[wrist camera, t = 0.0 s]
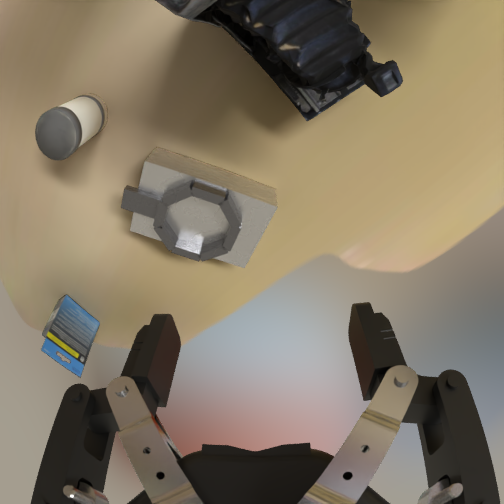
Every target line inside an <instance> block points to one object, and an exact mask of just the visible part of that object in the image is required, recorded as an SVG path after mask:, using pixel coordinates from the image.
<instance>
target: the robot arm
mask: <svg viewBox="0 0 504 504" xmlns="http://www.w3.org/2000/svg"><path fill="white" fill-rule="evenodd" d="M348 333H349V342H350V346H351V349H352V353H353V357H354V362H355V366H356V370H357V373H358V378H359V382H360V387H361V391H362V396H363V400H364V401H367V400H371V402H370V404H369V406H368V407H367V409H366V411H365V412H363V414H362V415H361V417H360V418H359V420H358V422H357V423H356V425H355V426H354V428H353V430H352V431H351V433H350V434H349V436H348V437H347V439H346V440H345V442H344V443H343V445H342V447H341V448H340V450H339V451H338V453H337V454H336V455H335V457H334V456H332V455H330V454H328V453H326V452H323V451H319V450H316V449H311V448H310V443H301V444H287V445H281V446H277V447H273V448H269V449H265V450H261V451H249V450H245V449H241V448H236V447H232V446H228V445H207V444H203V445H202V450H201V451H197V452H193V453H191V454H188V455H186V456H184V457H183V456H182V455H181V453H180V452H179V451H178V449H177V448H176V446H175V445H174V443H173V442H172V440H171V438H170V437H169V435H168V433H167V432H166V430H165V428H164V426H163V425H162V423H161V421H160V419H159V418H158V416H157V414H156V411H157V407H166V405H167V401H168V397H169V392H170V388H171V384H172V380H173V376H174V372H175V368H176V364H177V360H178V356H179V352H180V348H181V341H180V336H179V334H178V331H177V328H176V326H175V323H174V320H173V317H172V315H171V314H154V315H153V317H152V320H151V322H150V325H144V326H143V328H142V329H141V330H140V331H139V332H138V333H137V335H136V338H135V340H134V344H133V345H132V348H131V351H130V353H129V355H128V358H127V361H126V363H125V366H124V369H123V371H122V374H121V376H120V377H117V378H115V379H113V380H112V381H111V382H110V383H109V384H108V386H107V388H102V389H96V390H89V389H88V387H87V386H85V385H84V384H75V385H72V386H71V387H69V388H68V389H67V391H66V392H65V394H64V397H63V399H62V402H61V405H60V407H59V410H58V413H57V416H56V418H55V421H54V424H53V427H52V430H51V433H50V436H49V439H48V442H47V445H46V448H45V452H44V455H43V458H42V462H41V466H40V469H39V472H38V476H37V480H36V484H35V488H34V492H33V496H32V500H31V504H109V501H108V499H107V498H106V496H105V495H104V494H103V490H104V485H105V479H106V474H107V469H108V464H109V460H110V455H111V451H112V446H113V442H114V437H115V433H116V431H119V432H118V434H119V437H120V440H121V442H122V444H123V447H124V449H125V451H126V453H127V455H128V457H129V459H130V462H131V464H132V466H133V467H134V470H135V472H136V474H137V476H138V478H139V479H140V481H141V483H142V485H143V487H144V489H145V490H143V491H142V492H141V493H140V494H138V495H137V496H136V497H135V498H134V499H132V500H131V501H130V502H129V503H127V504H390V503H389V502H387V501H386V500H385V499H384V498H382V497H381V496H380V495H379V494H378V493H376V492H375V491H374V490H373V489H372V488H370V487H369V486H368V484H369V482H370V481H371V479H372V478H373V476H374V474H375V473H376V471H377V469H378V467H379V466H380V464H381V462H382V460H383V459H384V457H385V455H386V453H387V451H388V450H389V448H390V446H391V444H392V442H393V440H394V438H395V436H396V434H397V432H398V430H399V428H400V423H401V422H404V423H417V426H418V430H419V435H420V440H421V445H422V450H423V456H424V461H425V467H426V473H427V480H428V487H429V488H428V489H427V490H426V491H424V492H423V493H422V495H421V496H420V498H419V500H418V504H500V499H499V493H498V487H497V482H496V477H495V473H494V468H493V464H492V460H491V456H490V452H489V448H488V444H487V441H486V437H485V434H484V430H483V427H482V424H481V420H480V417H479V414H478V411H477V408H476V405H475V403H474V400H473V397H472V394H471V391H470V388H469V386H468V383H467V381H466V378H465V377H464V376H463V375H462V374H461V373H460V372H458V371H456V370H446V371H444V372H442V373H441V374H440V375H439V377H427V376H420V375H417V374H416V372H415V371H414V370H413V369H411V368H410V367H408V366H407V365H406V362H405V360H404V357H403V354H402V352H401V349H400V346H399V344H398V341H397V339H396V338H395V334H394V331H393V330H392V326H391V324H390V322H389V320H388V319H387V318H386V317H385V316H384V315H383V314H382V313H374V312H373V309H372V307H371V304H370V303H369V302H367V303H357V304H353V305H352V309H351V316H350V323H349V332H348Z"/></svg>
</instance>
